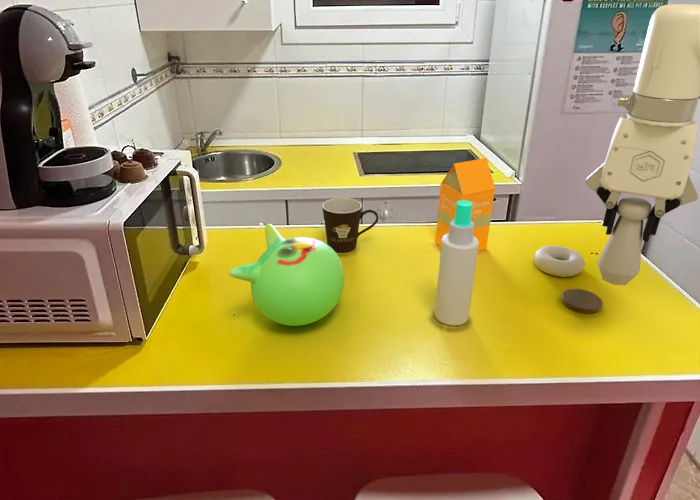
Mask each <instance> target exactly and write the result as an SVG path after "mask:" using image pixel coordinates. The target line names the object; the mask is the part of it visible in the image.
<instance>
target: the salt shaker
mask: <svg viewBox="0 0 700 500" xmlns="http://www.w3.org/2000/svg"><path fill="white" fill-rule="evenodd" d="M617 205H618V207H617V213H616V214H618V215H619V216H618V217H617V220H616V221H615V223H614V225H613V229H612V233H611V234H610V235H608V238H607V240H606V243H605V245H604V247H603V248H602V251H601V253H600V255H599V257H598V261H597V267H598V271H599V273H600V276H601V280H602V281H604V282H606V283H609V284H611V285H613V286H627V285H628V284H629V282H631V281H632V280H633V279H634V278H635V277H637V276H638V275H639V273H640V272H641V271H640V270H641V262H642V249H643V247H642V246H643V231H644V221H645V220H647V218H648V217H649V215H650V212H651V209H652V203H650V201H648V200H647V199H644V198H641V197H637V196H625V197H622V198H621V199H619V201H618V202H617Z"/></svg>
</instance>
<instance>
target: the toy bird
mask: <svg viewBox="0 0 700 500" xmlns="http://www.w3.org/2000/svg"><path fill="white" fill-rule="evenodd" d="M264 236H265V241H266V242H265V243H266V250H265V251H264V252H263V253H262V254H261V255H260V257H259V258H258V259H257V261H256V262H252V263H248V264H244V265H243V264H242V265H238V266H236V267H232V268H231V269H230V270H229V271H228V275H229V276H230V277H231V278H233V279H237V280H240V281H245V282H249V283H250V292H251V296H252V300H253V301H254V304H255V306H256V308H257V309H258V310H259V311H260V312H261V313H262V314H263V315H264V317H266V318H268V319H269V320H270V321H273V322H275V323H277V324H280V325H283V326H284V325H285V326H290V327H293V326H294V327H299V326H306V325H309V324H312V323H315V322H317V321H319V320H321V319H323V318H324V317H326V316H327V315H328V314H330V313H331V312H332V311H333V309H335V307H336V306H337V304H338V303H339V301H340V299H341V297H342V294H343V290H344V287H345V270H344V266H343V263H342V260H341V258H340V256H339V255H338V253H337V252H335V251H334V250H333V249H332V248H331V247H330V246H328V244H327V243H325V242H324V241H322V240H319V239H316V238H312V237H307V236H306V237H303V236H299V237H298V236H297V237H291V238H287V239H285V238H284V237H283V236H282V235H281V233H280V232H279V231H278V229H276V228H275V226H274V225H273V224H271V223H267V224H265V226H264Z"/></svg>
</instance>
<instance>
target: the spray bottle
mask: <svg viewBox="0 0 700 500" xmlns="http://www.w3.org/2000/svg"><path fill="white" fill-rule="evenodd" d="M471 213H472V202H470V201H466V200H460V201H457V205H456V212H455V219H454V220H452V221H451V222H450V228H449V234H446V235H444V236H443V237H442V242H441V247H440V253H439V262H438V273H437V282H436V283H437V284H436V293H435V304H434V317H435V319H436V320H437V321H438V322H439V323H442V324H444V325H447V326H450V327H451V326H452V327H457V326H462V325H464V324H466V323H467V322H468V320H469V317H470V310H471V303H472V298H473V297H472V295H473V289H474V280H475V273H476V266H477V260H478V259H477V258H478V253H479V251H478V245H479V242H478V240H477V238H475V237H474V236H473V233H474V223H473V222H472V221H471Z"/></svg>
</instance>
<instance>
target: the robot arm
mask: <svg viewBox="0 0 700 500" xmlns="http://www.w3.org/2000/svg"><path fill="white" fill-rule="evenodd" d="M699 99H700V3H699V4H698V3H697V4H696V3H671V4H664V5H660V6H659V7H658V8H656V9H655V10H654V12H652V14H651V17H650V20H649V24H648V27H647V31H646V36H645V40H644V44H643V47H642V51H641V57H640V61H639V64H638V69H637V72H636V77H635V80H634V85H633V89H632V93H629V95H625V96H623V95H619V97H618V101H617V107H620V108H621V107H622V108H623V109H625V111H627V113H623V114H622V115H621V116H620V117H619V120H618V122H617V124H616V125H615V129H614V131H613V134H612V137H611V140H610V143H609V146H608V150H607V153H606V156H605V160H604V162H603V163H602V164H600V165H599V166H598V167H597V168H596V169H595V170H594V171H593V172H591V173H590V174H589V175H588V176H587V177H586V179H585V181H584V182H585V185H586V186H587V187H589V188H590V189H591V190H592V191H593V192H595V193H596V195H597V196H598V197H599V199H600V200H601V201H602V203H603V204H604V206H605V208H606V209H605V214H604V218H603V221H602V225H601V227H605V228H606V231H605V235H607V236H610V234H611V233H612V230H613V228H614V226H615V222H616V217H617V214H618V213H617V207H618V203H619V201H618V200H619V199H620V196H621V195H622V194H628V195H634V196H635V195H636V196H642V197H648V198H654V206H651V212H650V215H649V217H648V218H646V222H645V224H644V227H643V234H642V241H643V242H645V243H648V242H649V240H650V236H656V234H657V232H658V228H659V224H660V221H661V218H662V217H665V215H666V214H668V213H670V212H672V211H673V210H676V209H677V208H679V207H680V206H684V205H687V204H690V203H694V202H696V201H697V200H698V199H699V194H698V192H697V190H696V186H695V185H694V183H693V181H692V179H691V177H690V171H691V167H692V162H693V159H694V154H695V150H696V145H697V138H698V127H699V126H698V123H697V121H695V120H693V118H694V116H695V115H694V114H695V112H696V108H697V105H698V101H699Z"/></svg>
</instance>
